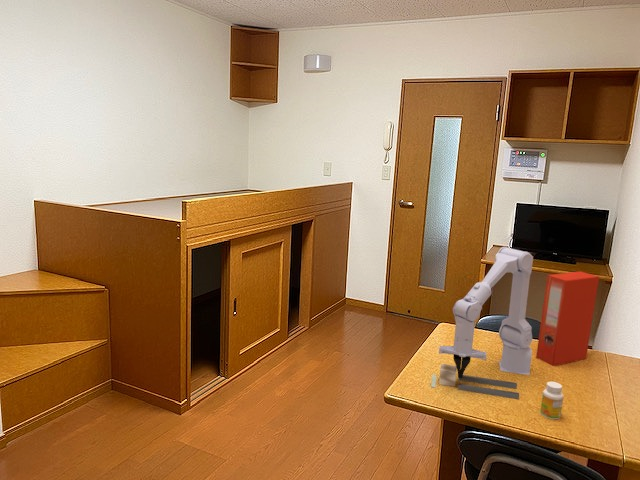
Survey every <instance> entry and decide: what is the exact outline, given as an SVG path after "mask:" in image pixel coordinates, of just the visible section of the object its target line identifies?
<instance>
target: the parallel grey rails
mask: <svg viewBox="0 0 640 480" xmlns="http://www.w3.org/2000/svg"><path fill="white" fill-rule="evenodd" d="M457 378H458V377H457ZM457 380H458V381H463V382H469V383H474V384H482V385H488V386H495V387H500V388H501V387H502V388H508V389H514V390H517V387H518V383H517V382H513V381H506V380H498V379H493V378H488V377H479V376H473V375H466V374H463V376H462V378H458V379H457ZM457 387H458V390H459V391H463V392H464V391H466V392H471V393H475V394H476V393H477V394H484V395H489V396H495V397H503V398H509V399H514V400H519V399H520V392H516V391H511V390H510V391H509V390H503V389H496V388H490V387H483V386H478V385H471V384H466V383H464V384H463V383H458V386H457Z"/></svg>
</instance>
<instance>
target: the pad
mask: <svg viewBox="0 0 640 480" xmlns="http://www.w3.org/2000/svg"><path fill="white" fill-rule="evenodd" d="M430 383H431V384H430V388H434V389H436V386H437V374H433V373H432V376H431V382H430Z"/></svg>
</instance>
